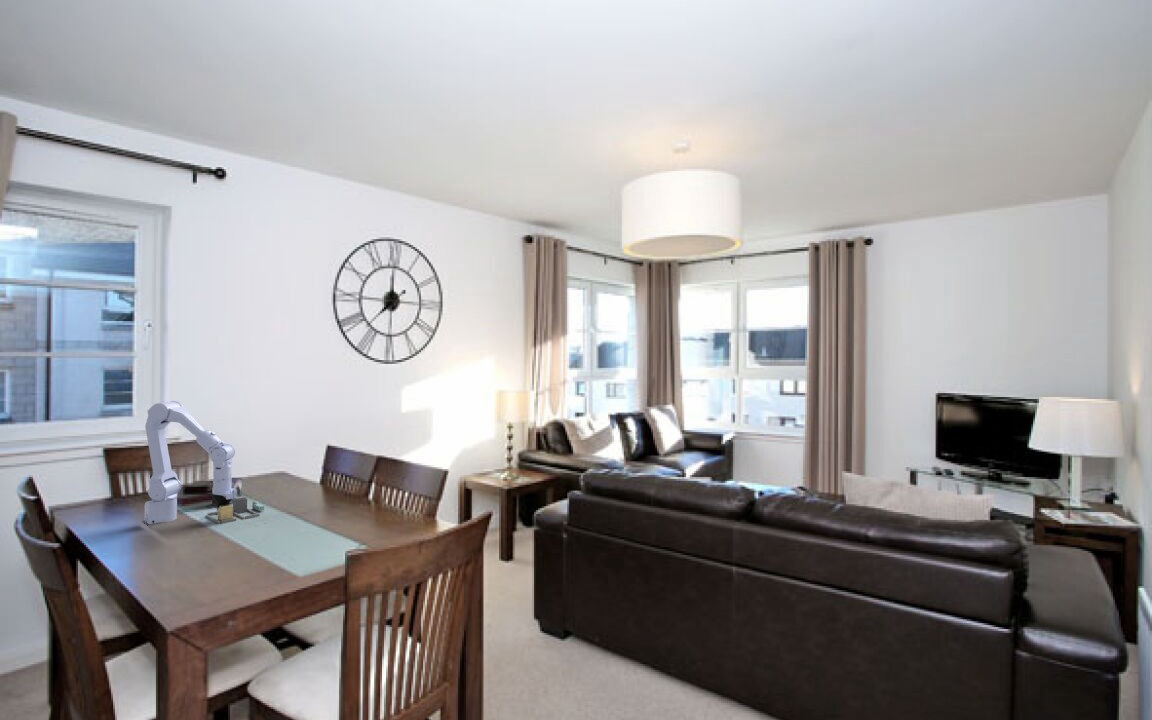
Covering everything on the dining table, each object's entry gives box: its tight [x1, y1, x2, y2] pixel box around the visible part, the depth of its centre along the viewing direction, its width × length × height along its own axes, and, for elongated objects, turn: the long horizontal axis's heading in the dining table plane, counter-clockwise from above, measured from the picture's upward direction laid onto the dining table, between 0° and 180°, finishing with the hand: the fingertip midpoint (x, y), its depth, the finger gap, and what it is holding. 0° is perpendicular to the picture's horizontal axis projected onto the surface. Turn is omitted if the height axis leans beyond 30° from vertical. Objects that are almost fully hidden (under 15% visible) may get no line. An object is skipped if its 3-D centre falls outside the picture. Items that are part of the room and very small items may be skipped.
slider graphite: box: [232, 495, 248, 514], centre depth 224 cm, size 4×3×6 cm
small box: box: [211, 477, 243, 507], centre depth 238 cm, size 11×6×10 cm, turn 179°
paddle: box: [251, 501, 265, 512], centre depth 226 cm, size 2×7×3 cm, turn 49°
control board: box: [205, 507, 261, 525], centre depth 219 cm, size 22×16×2 cm
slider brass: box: [217, 504, 234, 522], centre depth 212 cm, size 4×3×6 cm
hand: (222, 515), depth 214 cm, fingers closed
